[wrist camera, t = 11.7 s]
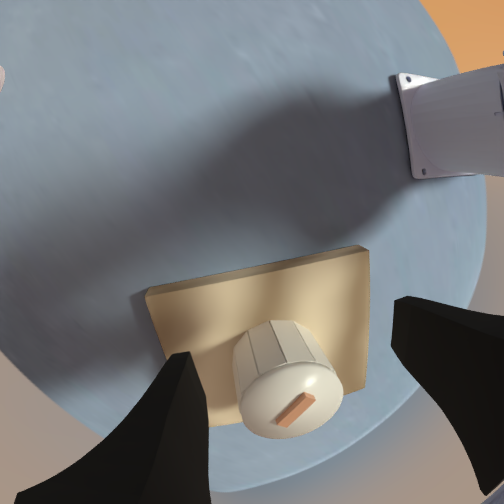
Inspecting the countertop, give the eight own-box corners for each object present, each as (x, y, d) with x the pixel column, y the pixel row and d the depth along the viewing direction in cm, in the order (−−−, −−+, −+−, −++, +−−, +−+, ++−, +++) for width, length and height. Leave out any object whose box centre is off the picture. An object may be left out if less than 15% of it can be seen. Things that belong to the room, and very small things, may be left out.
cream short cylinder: (266, 305, 17) (289, 356, 12) (330, 342, 19) (365, 391, 13) (216, 368, 18) (221, 428, 13) (281, 396, 19) (300, 450, 14)
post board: (356, 243, 19) (400, 267, 14) (356, 376, 22) (383, 414, 17) (149, 286, 17) (130, 326, 13) (197, 414, 21) (197, 462, 16)
